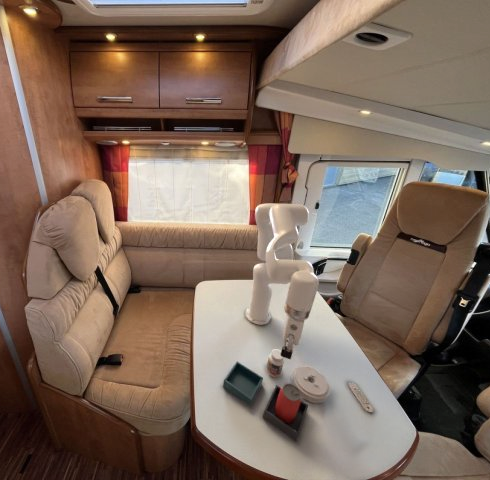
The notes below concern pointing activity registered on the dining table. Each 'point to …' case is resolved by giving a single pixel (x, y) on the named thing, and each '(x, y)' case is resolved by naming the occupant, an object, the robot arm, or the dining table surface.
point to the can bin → (287, 428)
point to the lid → (310, 384)
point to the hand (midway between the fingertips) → (287, 346)
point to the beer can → (288, 403)
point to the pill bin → (243, 383)
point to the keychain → (360, 397)
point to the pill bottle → (275, 363)
